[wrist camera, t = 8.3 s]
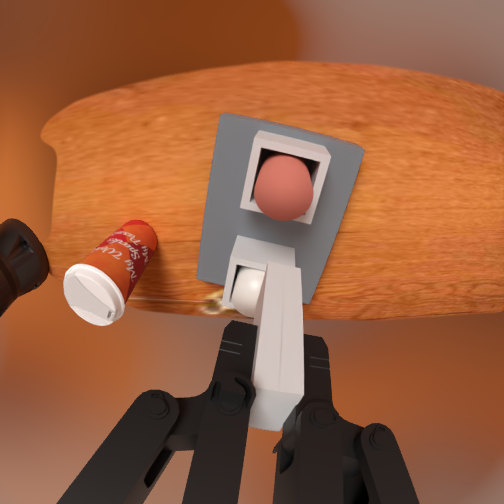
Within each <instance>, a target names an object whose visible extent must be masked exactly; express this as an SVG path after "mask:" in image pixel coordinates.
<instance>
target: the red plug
mask: <svg viewBox="0 0 504 504" xmlns="http://www.w3.org/2000/svg"><path fill="white" fill-rule="evenodd" d="M254 197H255V201H256V204H257V206H258V207H259V209H260V210H261V211H262V212H263V213H264V214H265V215H267V216H268V217H270V218H272V219H275V220H280V221H289V220H293V219H296V218H298V217H300V216H302V215H303V214H304V213H305V212H306V211H307V210H308V209H309V207H310V206H311V203H312V201H313V186H312V182H311V178H310V174H309V170H308V166H307V163H306V161H305V160H304V158H303V157H300V156H296V155H292V154H288V153H284V152H279V151H273V152H271V153H270V154H269V155H268V156H267V157H266V158H265V159H264V161H263V163H262V166H261V169H260V172H259V175H258V178H257V181H256V184H255V188H254Z"/></svg>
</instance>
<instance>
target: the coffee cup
mask: <svg viewBox="0 0 504 504" xmlns="http://www.w3.org/2000/svg"><path fill="white" fill-rule="evenodd" d="M156 247H157V236H156V233H155V231H154V230H153V228H152V227H151V226H150V225H149V224H147V223H146V222H144V221H141V220H131V221H129V222H127V223H126V224H124V225H123V226H122V227H120V228H119V229H118V230H117V231H116V232H114V233H113V234H112V235H111V236H110V237H108V238H107V239H106V240H105V241H104V242H103V243H101V244H100V245H99V246H98V247H97V248H96V249H95V250H93V251H92V252H91V253H90V254H89V255H88V256H87V257H86V258H85V259H83V260H82V261H81V262H80V263H79V264H76V265H73V266H72V267H71V268H70V269H69V270H68V271H67V272H66V273H65V278H64V294H65V297H66V299H67V301H68V303H69V305H70V307H71V308H72V309H73V310H74V311H75V312H76V313H77V314H78V315H79V316H80V317H81V318H83V319H84V320H86V321H88V322H90V323H92V324H95V325H100V326H104V325H109V324H111V323H112V322H113V321H115V320H118V319H119V318H120V317H121V316H122V315H123V313H124V309H125V303H126V302H127V300H128V298H129V296H130V294H131V292H132V291H133V289H134V287H135V285H136V283H137V282H138V280H139V278H140V276H141V274H142V273H143V271H144V269H145V267H146V266H147V264H148V262H149V260H150V259H151V257H152V255H153V253H154V251H155V249H156Z"/></svg>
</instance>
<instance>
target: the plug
mask: <svg viewBox="0 0 504 504" xmlns="http://www.w3.org/2000/svg"><path fill="white" fill-rule="evenodd" d="M264 275H265V271H264V270H259V269H255V268H251V267H246V266H242V265H240V267H239V271H238V275H237V279H236V283H235V287H234V290H233V294H232V303H233V306H234V307H235V309H236V310H237V311H238V312H240V313H241V314H243V315H245V316H247V317H252V318H254V315H255V308H256V304H257V300H258V296H259V293H260V289H261V286H262V282H263V278H264Z"/></svg>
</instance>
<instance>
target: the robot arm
mask: <svg viewBox="0 0 504 504" xmlns="http://www.w3.org/2000/svg"><path fill="white" fill-rule="evenodd" d="M48 270H49V268H48V261H47V257H46V254H45V251H44V249H43V247H42V245H41V243H40V241H39V240H38V238H37V237H36V235H35V234H34V233H33V231H32V230H31V229H30V228H29V227H28V226H27V225H26V224H24V223H23V222H21V221H19V220H17V219H7V220H6V221H4V222H3V223H2V224H0V317H1V316H2V315H3V313H4V312H5V311H6V310H7V309H8V308H9V306H10V305H11V304H12V303H13V302H14V300H16V299H17V298H18V297H19V296H21V295H24V294H26V293H28V292H30V291H32V290H34V289H36V288H37V287H39V286H40V285H41V284H42V283H43V282H44V281H45V280H46V278H47V276H48ZM329 368H330V365H329V354H328V347H327V345H326V344H325V342H324V340H323V338H322V337H317V336H312V335H307V334H303V310H302V285H301V268H297V267H292V266H288V265H283V264H279V263H274V262H270V261H268V264H267V267H266V271H265V275H264V278H263V282H262V286H261V289H260V293H259V296H258V300H257V304H256V308H255V315H254V321H253V325H252V324H247V323H243V322H238V321H234V320H232V321H231V322H230V323H229V324H228V325H227V326H226V327H225V329H224V333H223V337H222V341H221V345H220V349H219V353H218V357H217V361H216V365H215V369H214V373H213V377H212V381H211V383H210V385H209V387H208V389H207V390H206V391H205V392H203V393H202V394H200V395H198V396H195V397H189V398H174V397H173V396H172V395H170V394H169V393H168V392H165V391H162V390H149V391H146V392H143V393H142V394H141V395H140V396H138V397H137V398H136V400H135V401H134V402H133V404H132V405H131V406H130V408H129V409H128V410H127V412H126V413H125V414H124V415H123V417H122V418H121V419H120V421H119V422H118V423H117V425H116V426H115V427H114V429H113V430H112V431H111V433H110V434H109V435H108V436H107V438H106V439H105V440H104V442H103V443H102V444H101V446H100V447H99V448H98V450H97V451H96V452H95V454H94V455H93V456H92V458H91V459H90V460H89V461H88V463H87V464H86V465H85V467H84V468H83V470H82V471H81V472H80V473H79V475H78V476H77V477H76V479H75V480H74V481H73V482H72V484H71V485H70V486H69V488H68V489H67V490H66V492H65V493H64V494H63V496H62V497H61V498H60V500H59V501H58V502H57V504H143V503H144V501H145V500H146V498H147V496H148V495H149V493H150V492H151V490H152V489H153V487H154V485H155V484H156V482H157V480H158V479H159V477H160V475H161V474H162V473H163V471H164V469H165V468H166V466H167V464H168V463H169V461H170V460H171V458H172V456H173V455H174V453H175V451H185V450H194V454H193V458H192V462H191V467H190V471H189V475H188V479H187V484H186V488H185V492H184V497H183V501H182V504H237V503H238V496H239V489H240V483H241V475H242V468H243V461H244V454H245V447H246V439H247V432H248V427H252V428H259V429H264V430H271V431H280V429H281V428H282V427H283V434H282V438H281V439H280V441H279V442H278V443H277V444H276V446H275V447H274V449H273V453H276V452H277V463H276V473H275V484H274V495H273V504H419V501H418V498H417V495H416V492H415V490H414V487H413V484H412V481H411V478H410V476H409V473H408V470H407V468H406V465H405V462H404V460H403V457H402V454H401V451H400V449H399V446H398V444H397V441H396V439H395V437H394V434H393V433H392V431H391V430H390V429H389V428H388V427H387V426H385V425H383V424H380V423H373V424H370V425H368V426H366V427H365V428H364V427H361V426H358V425H356V424H353V423H350V422H348V421H346V420H344V419H343V418H342V417H340V416H339V413H338V412H337V411H336V410H335V408H334V407H333V402H332V390H331V378H330V370H329Z"/></svg>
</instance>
